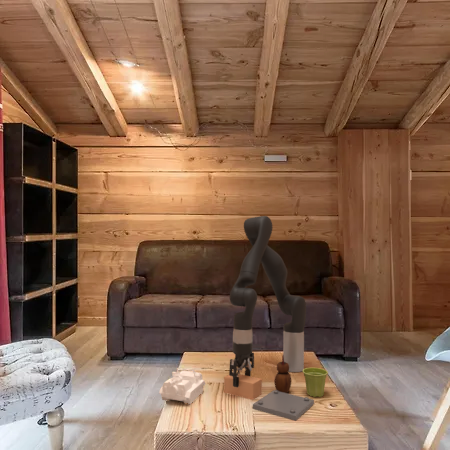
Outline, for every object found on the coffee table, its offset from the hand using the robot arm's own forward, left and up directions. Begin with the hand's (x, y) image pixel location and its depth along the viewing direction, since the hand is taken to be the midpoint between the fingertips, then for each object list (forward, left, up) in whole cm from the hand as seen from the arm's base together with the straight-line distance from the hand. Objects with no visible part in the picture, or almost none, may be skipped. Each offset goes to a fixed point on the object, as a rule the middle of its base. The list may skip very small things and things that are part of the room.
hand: (241, 383), depth 151 cm
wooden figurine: (-10, +12, -4) cm, 16 cm away
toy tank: (+17, -16, -4) cm, 24 cm away
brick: (0, 0, -4) cm, 4 cm away
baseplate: (+2, +18, -4) cm, 19 cm away
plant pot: (-15, +23, -4) cm, 28 cm away
